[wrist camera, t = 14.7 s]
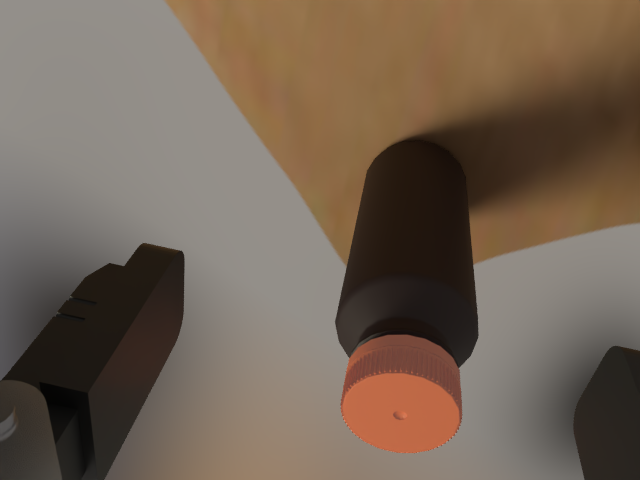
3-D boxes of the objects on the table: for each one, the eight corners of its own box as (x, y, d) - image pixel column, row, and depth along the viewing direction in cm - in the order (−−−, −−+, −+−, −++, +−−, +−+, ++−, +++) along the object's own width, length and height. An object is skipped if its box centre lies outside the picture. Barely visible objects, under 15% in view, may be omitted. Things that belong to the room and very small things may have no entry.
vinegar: (379, 234, 44) (345, 473, 27) (352, 151, 40) (294, 364, 24) (474, 216, 41) (500, 463, 25) (454, 127, 38) (468, 342, 22)
